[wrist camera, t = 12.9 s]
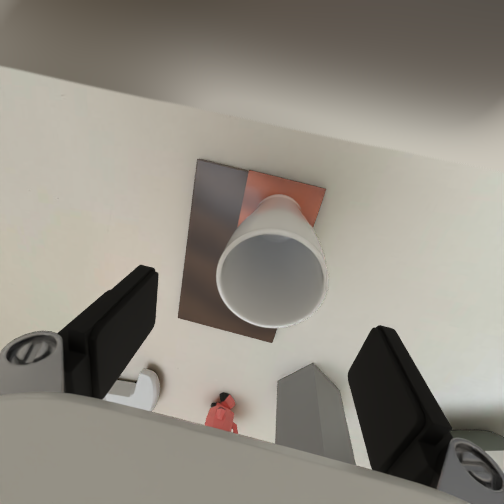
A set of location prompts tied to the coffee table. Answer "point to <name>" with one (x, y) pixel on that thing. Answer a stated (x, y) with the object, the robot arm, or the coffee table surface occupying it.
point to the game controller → (136, 391)
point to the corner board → (228, 236)
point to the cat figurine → (222, 414)
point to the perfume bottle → (312, 416)
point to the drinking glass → (273, 266)
